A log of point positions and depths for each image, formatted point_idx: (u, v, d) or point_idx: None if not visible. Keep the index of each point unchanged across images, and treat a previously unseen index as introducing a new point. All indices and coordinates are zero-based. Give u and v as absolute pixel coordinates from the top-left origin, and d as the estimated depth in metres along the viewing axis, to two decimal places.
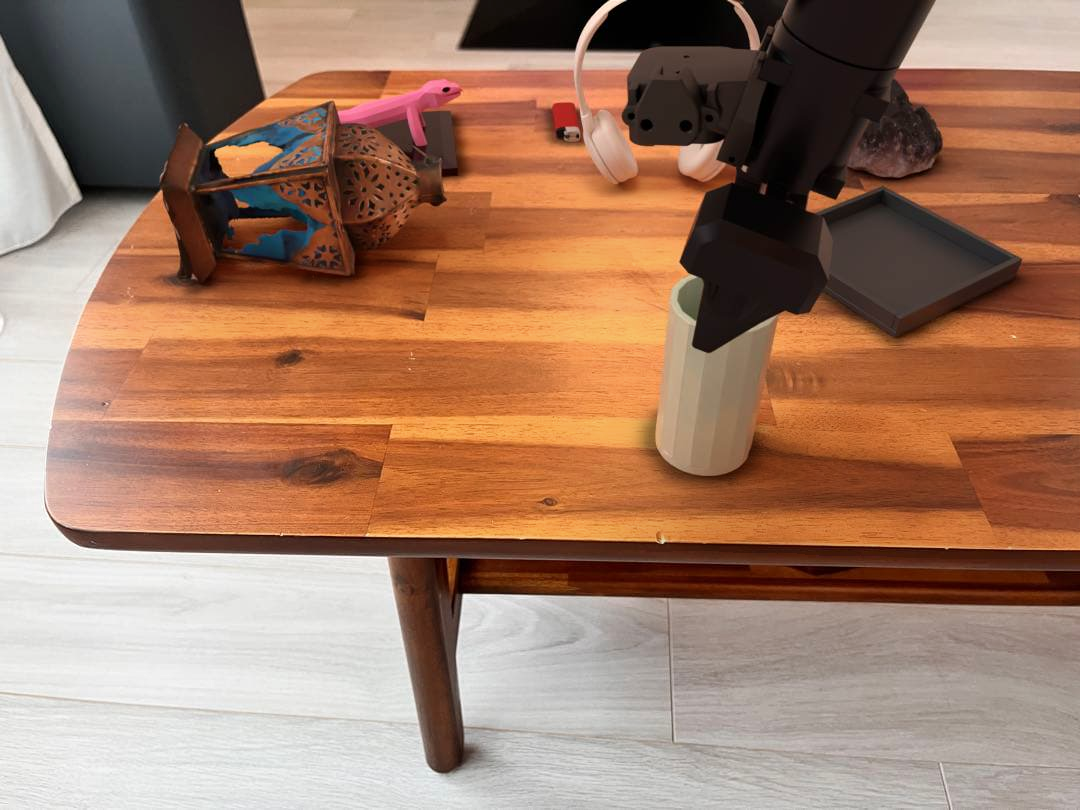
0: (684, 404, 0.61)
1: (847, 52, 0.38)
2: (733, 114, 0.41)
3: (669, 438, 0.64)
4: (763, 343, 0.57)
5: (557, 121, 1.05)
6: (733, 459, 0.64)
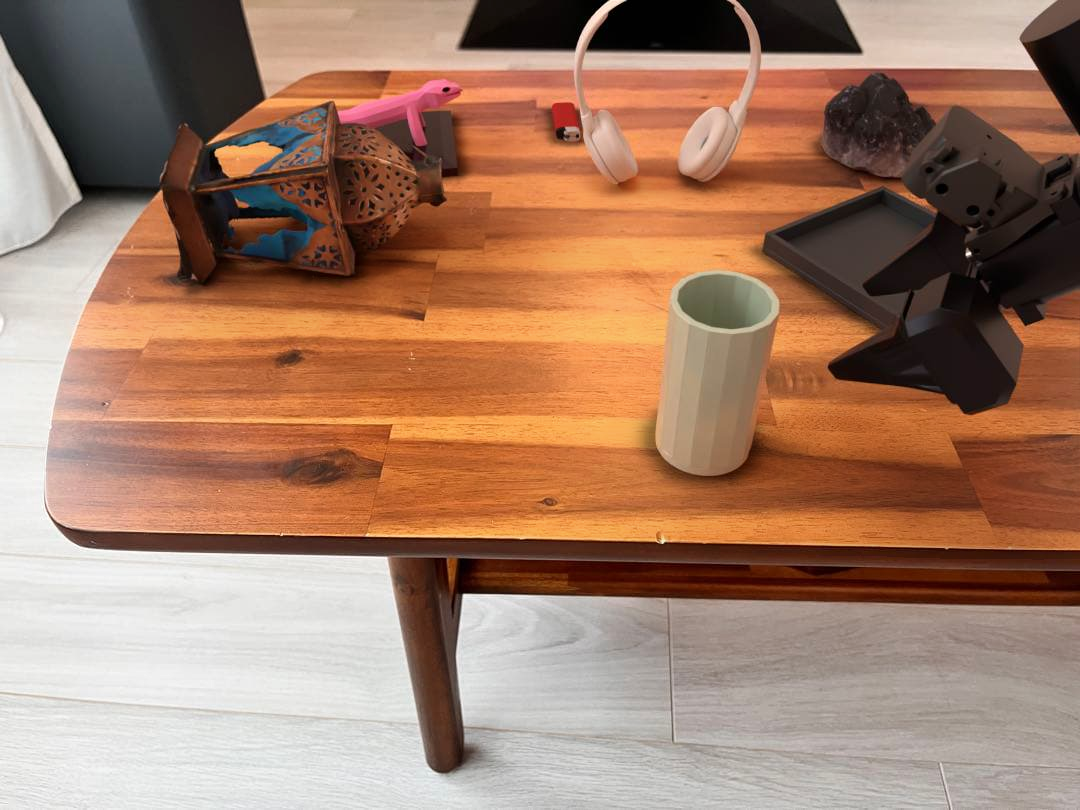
0: (684, 404, 0.61)
1: None
2: (1007, 218, 0.44)
3: (669, 438, 0.64)
4: (763, 343, 0.57)
5: (557, 121, 1.05)
6: (733, 459, 0.64)
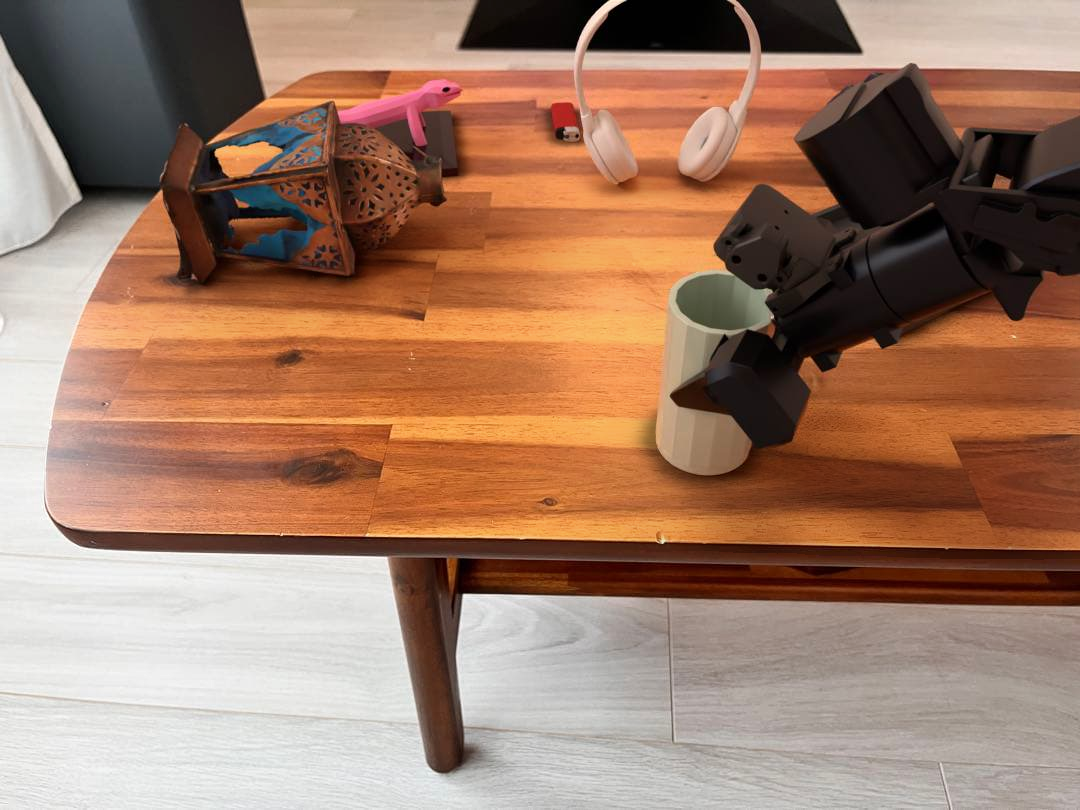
0: None
1: (894, 301, 0.50)
2: (795, 283, 0.52)
3: (669, 438, 0.64)
4: None
5: (556, 121, 1.05)
6: (733, 458, 0.64)
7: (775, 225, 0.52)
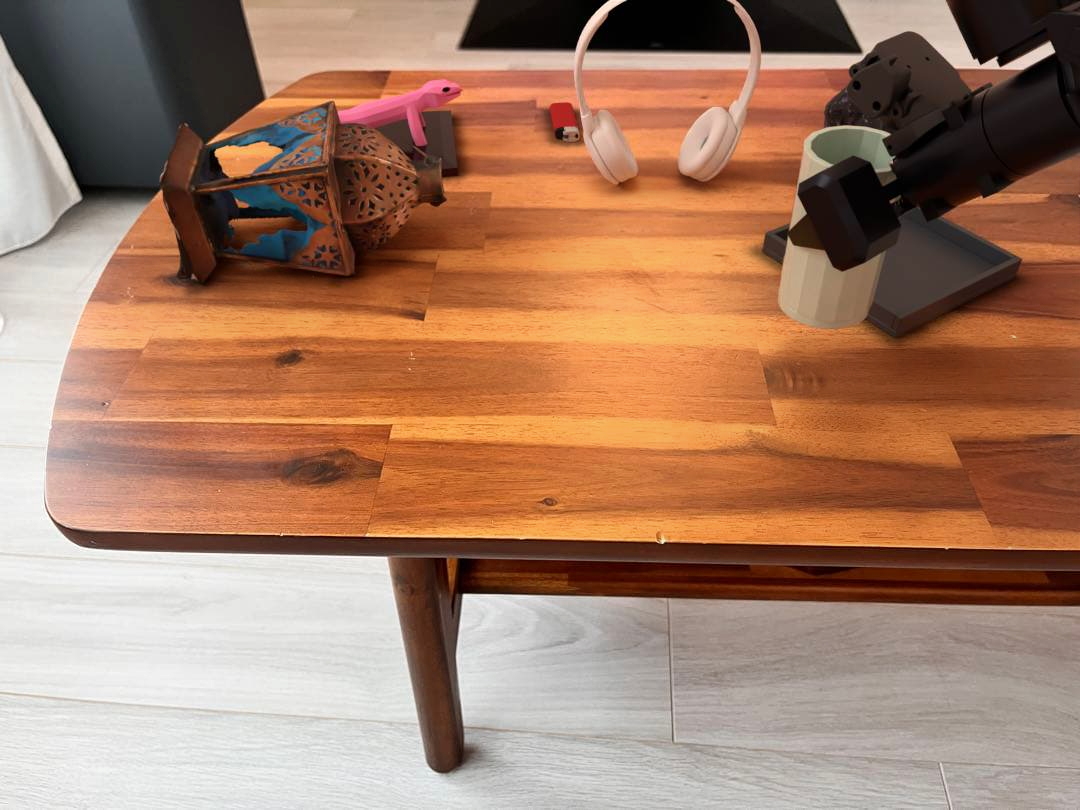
0: None
1: (997, 142, 0.51)
2: (912, 121, 0.55)
3: (785, 283, 0.68)
4: None
5: (556, 122, 1.05)
6: (840, 315, 0.67)
7: (908, 65, 0.55)
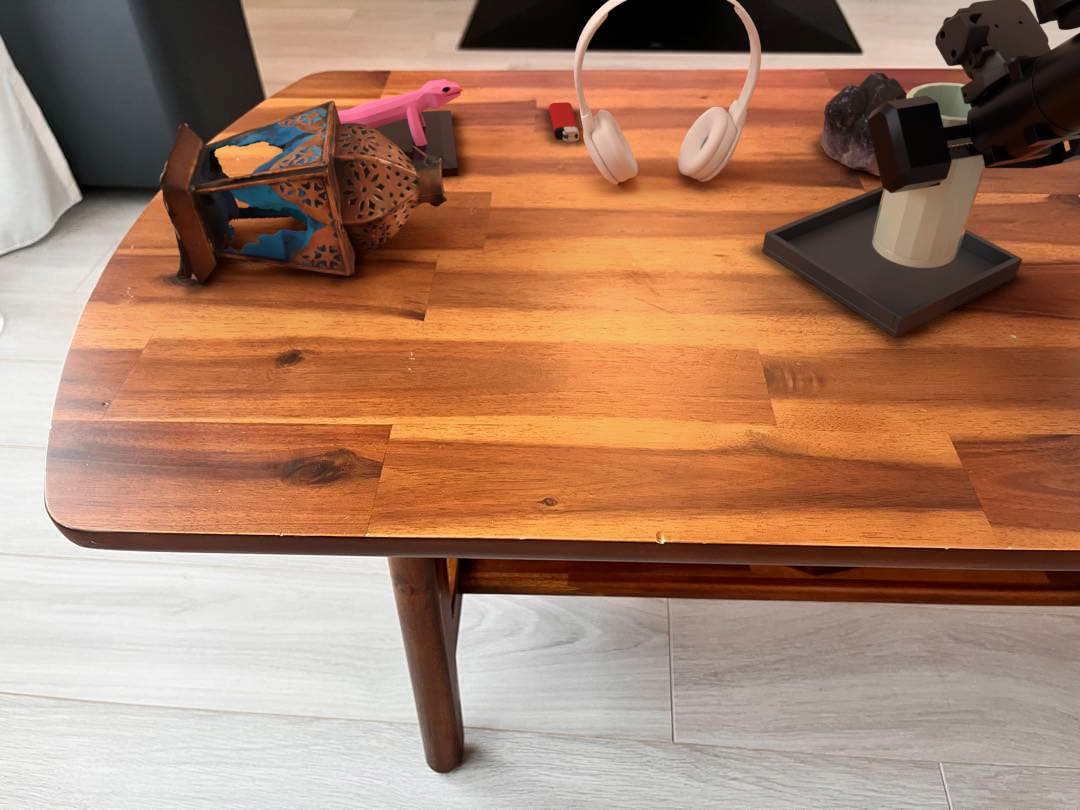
0: None
1: (1039, 94, 0.58)
2: (985, 73, 0.62)
3: (877, 218, 0.77)
4: None
5: (555, 122, 1.05)
6: (916, 254, 0.74)
7: (997, 24, 0.63)
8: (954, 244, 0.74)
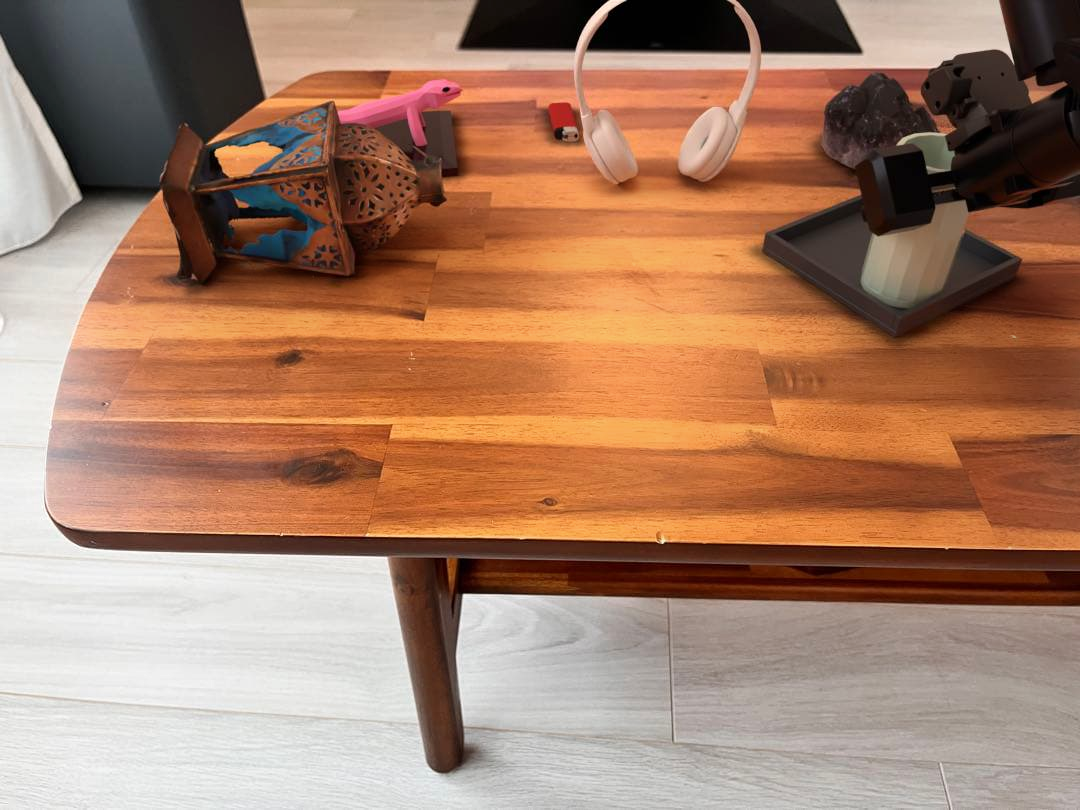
0: None
1: (1018, 148, 0.61)
2: (968, 123, 0.65)
3: (866, 259, 0.80)
4: (947, 189, 0.70)
5: (555, 122, 1.05)
6: (903, 295, 0.77)
7: (979, 76, 0.65)
8: (939, 286, 0.77)
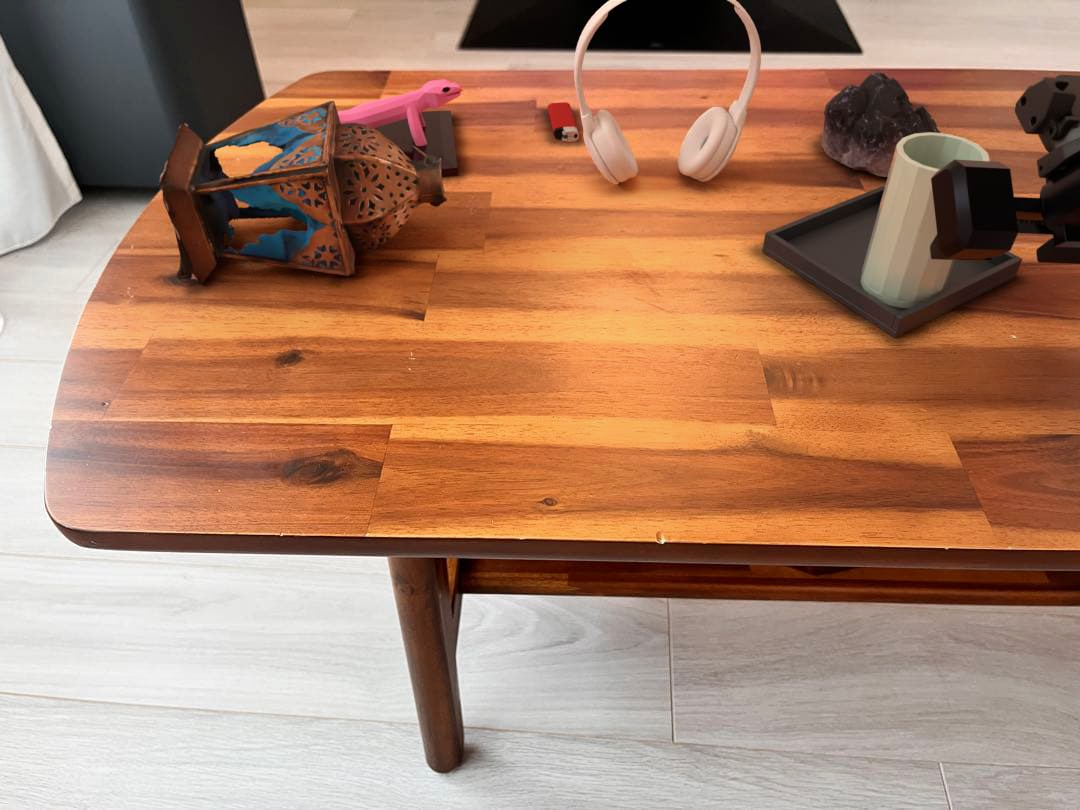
0: (879, 226, 0.76)
1: None
2: None
3: (866, 259, 0.80)
4: None
5: (554, 122, 1.05)
6: (903, 295, 0.77)
7: None
8: (939, 286, 0.77)
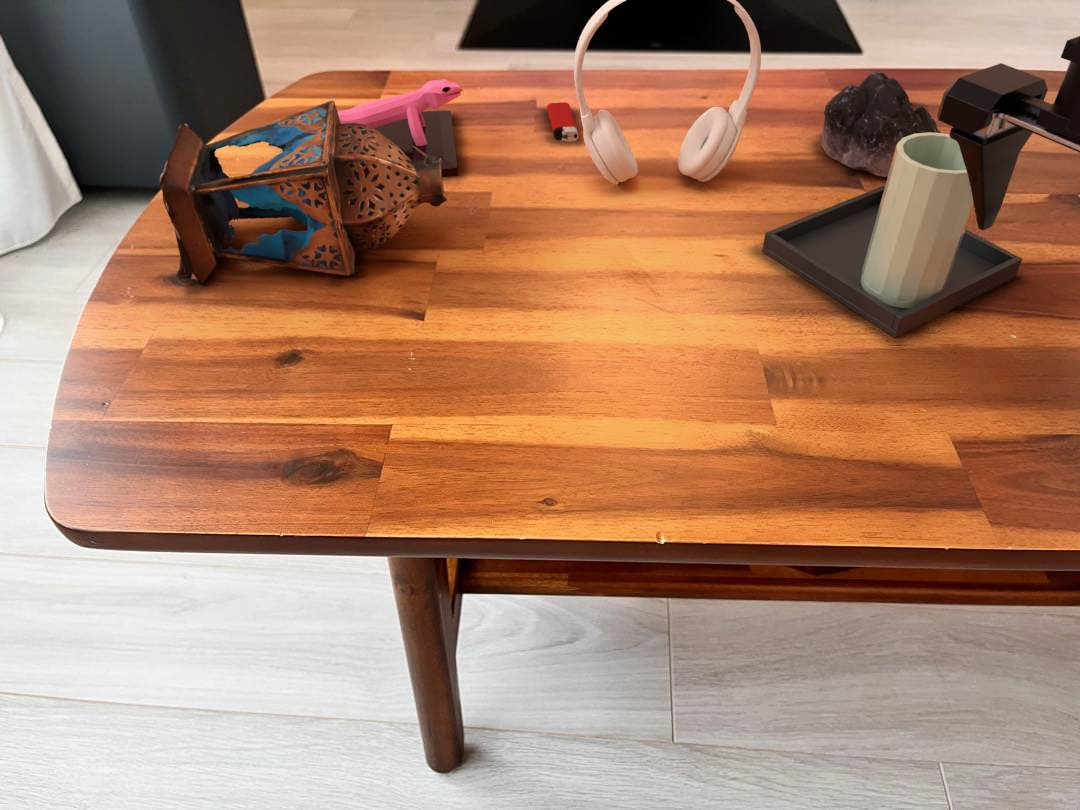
0: (879, 226, 0.76)
1: None
2: None
3: (866, 259, 0.80)
4: (947, 189, 0.70)
5: (554, 122, 1.05)
6: (903, 295, 0.77)
7: None
8: (939, 286, 0.77)
